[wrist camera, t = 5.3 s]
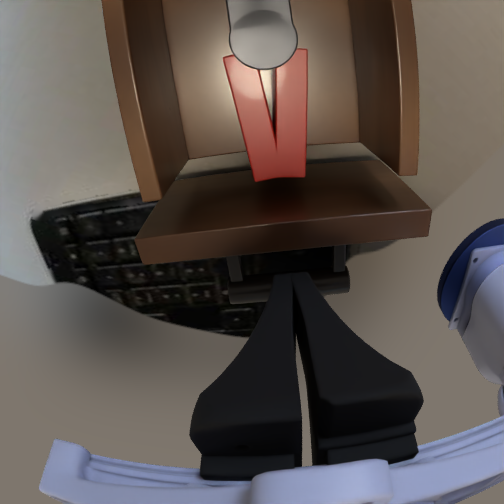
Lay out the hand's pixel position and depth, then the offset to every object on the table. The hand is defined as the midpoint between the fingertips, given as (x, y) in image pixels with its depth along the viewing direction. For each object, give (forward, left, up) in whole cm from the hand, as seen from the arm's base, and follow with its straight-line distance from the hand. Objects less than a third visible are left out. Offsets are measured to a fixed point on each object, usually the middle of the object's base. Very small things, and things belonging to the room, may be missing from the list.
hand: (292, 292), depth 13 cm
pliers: (+9, 0, -5) cm, 10 cm away
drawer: (+7, 0, -6) cm, 9 cm away
